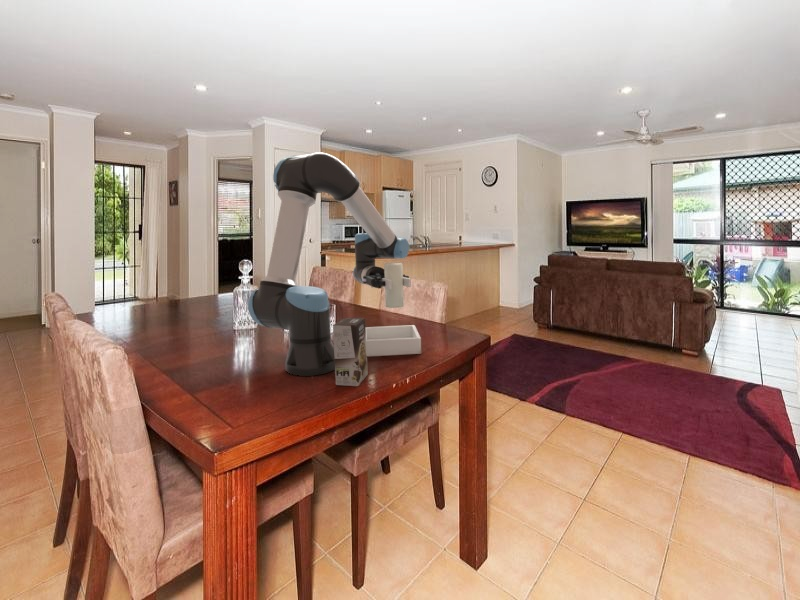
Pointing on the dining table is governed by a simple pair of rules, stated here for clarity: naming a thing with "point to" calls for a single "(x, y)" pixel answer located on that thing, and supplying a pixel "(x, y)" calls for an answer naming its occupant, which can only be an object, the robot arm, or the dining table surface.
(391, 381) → the dining table surface
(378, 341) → the tote
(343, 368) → the coffee box
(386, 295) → the canister
